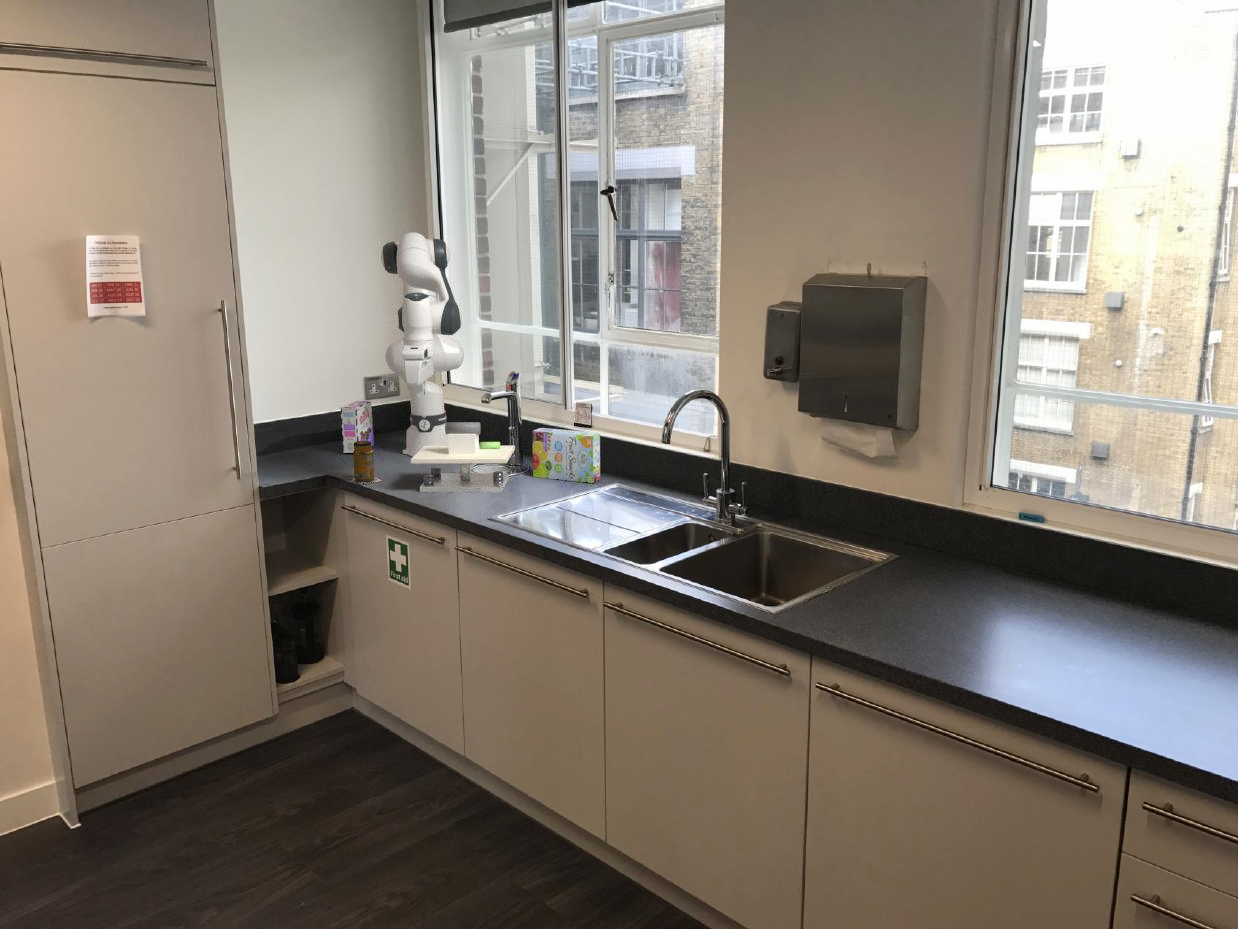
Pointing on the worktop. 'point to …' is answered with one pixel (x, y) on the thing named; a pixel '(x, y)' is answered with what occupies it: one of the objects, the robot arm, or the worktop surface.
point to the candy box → (356, 424)
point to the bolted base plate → (463, 481)
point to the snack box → (566, 455)
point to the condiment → (363, 462)
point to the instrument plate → (478, 458)
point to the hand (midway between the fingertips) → (421, 396)
